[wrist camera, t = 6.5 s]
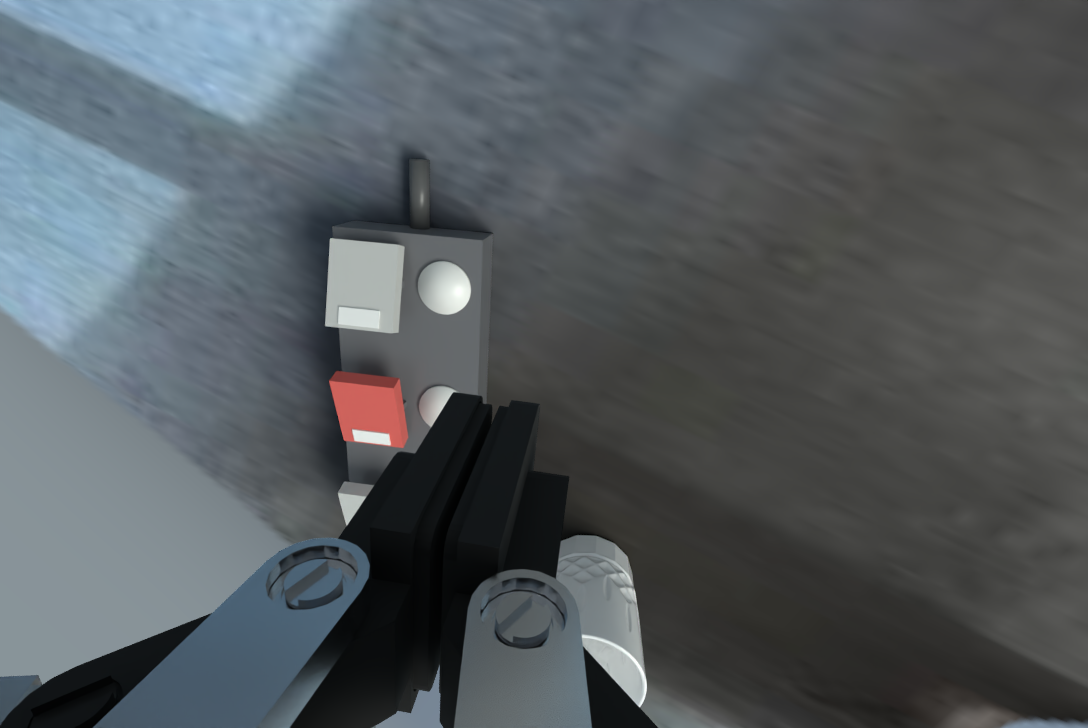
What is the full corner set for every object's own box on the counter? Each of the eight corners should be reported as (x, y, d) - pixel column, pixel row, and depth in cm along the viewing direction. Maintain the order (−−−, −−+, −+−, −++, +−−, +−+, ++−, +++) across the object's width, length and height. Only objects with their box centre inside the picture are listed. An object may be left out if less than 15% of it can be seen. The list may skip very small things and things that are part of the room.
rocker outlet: (344, 481, 37) (337, 494, 36) (402, 489, 36) (396, 502, 36) (356, 528, 40) (349, 541, 39) (410, 535, 39) (405, 549, 38)
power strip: (350, 153, 34) (322, 153, 30) (495, 165, 33) (482, 166, 30) (369, 507, 43) (348, 537, 40) (481, 523, 42) (470, 554, 39)
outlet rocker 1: (338, 240, 32) (329, 237, 31) (404, 246, 32) (398, 244, 31) (333, 325, 33) (324, 326, 32) (398, 332, 32) (391, 333, 31)
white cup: (523, 585, 44) (499, 700, 35) (560, 511, 41) (545, 616, 32) (612, 622, 44) (612, 745, 35) (656, 551, 42) (669, 666, 32)
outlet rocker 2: (336, 370, 34) (328, 381, 33) (399, 378, 33) (393, 389, 33) (350, 430, 37) (343, 441, 36) (408, 437, 36) (402, 449, 36)
